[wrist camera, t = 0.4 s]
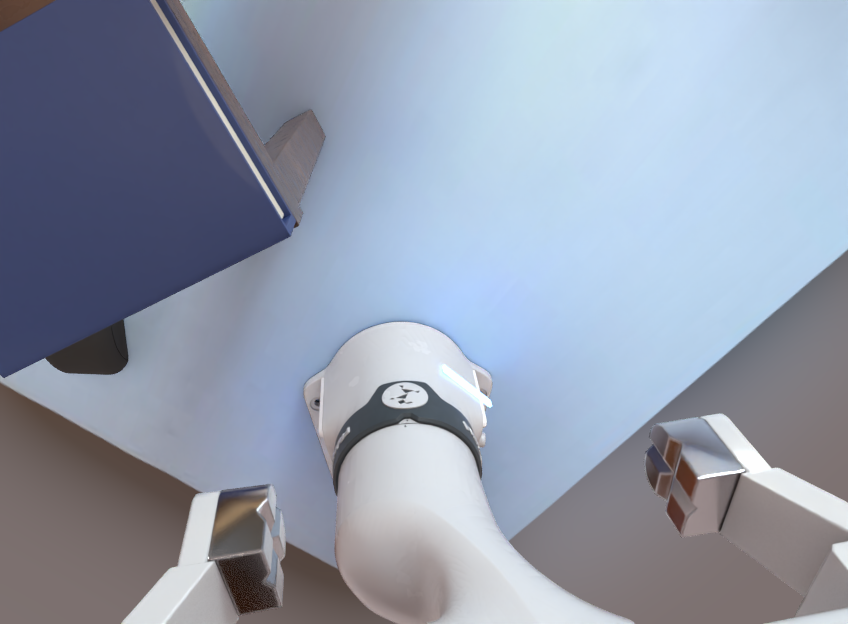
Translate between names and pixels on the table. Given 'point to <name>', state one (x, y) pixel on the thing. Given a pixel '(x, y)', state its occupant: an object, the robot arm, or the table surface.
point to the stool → (281, 156)
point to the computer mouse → (94, 353)
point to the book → (115, 173)
